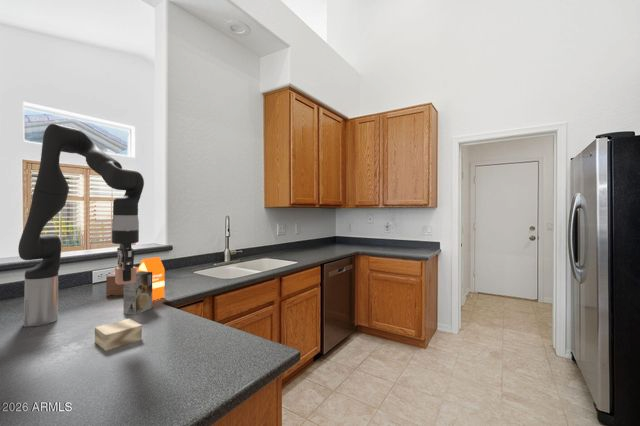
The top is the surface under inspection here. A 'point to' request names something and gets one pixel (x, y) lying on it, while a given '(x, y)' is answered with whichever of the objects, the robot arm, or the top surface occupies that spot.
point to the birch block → (118, 334)
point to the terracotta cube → (120, 276)
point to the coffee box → (138, 294)
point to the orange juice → (154, 275)
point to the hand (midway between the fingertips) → (125, 279)
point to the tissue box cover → (114, 285)
